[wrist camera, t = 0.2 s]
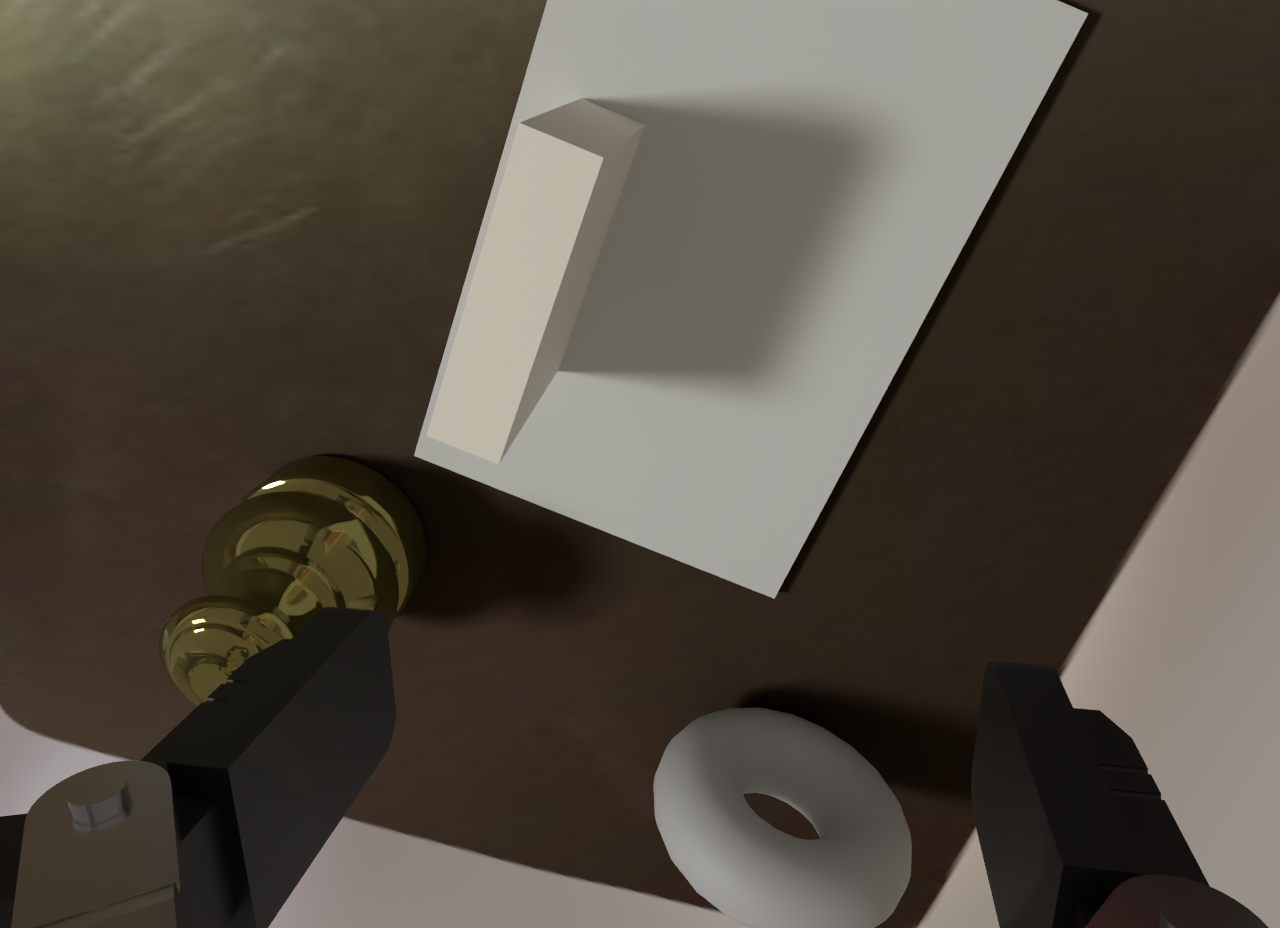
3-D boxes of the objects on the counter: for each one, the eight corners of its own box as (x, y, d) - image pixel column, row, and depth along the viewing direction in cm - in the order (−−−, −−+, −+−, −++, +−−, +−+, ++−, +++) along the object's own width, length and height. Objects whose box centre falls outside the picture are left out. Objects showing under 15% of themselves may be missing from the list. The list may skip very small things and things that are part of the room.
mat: (606, -190, 27) (603, -193, 27) (1083, 13, 28) (1088, 13, 27) (418, 450, 37) (413, 455, 36) (774, 591, 37) (774, 598, 37)
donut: (910, 732, 39) (948, 942, 30) (878, 790, 41) (905, 1007, 32) (681, 659, 39) (652, 848, 30) (657, 719, 41) (623, 916, 32)
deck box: (578, 96, 30) (514, 121, 23) (645, 124, 30) (604, 157, 23) (498, 347, 34) (422, 434, 27) (557, 370, 34) (498, 464, 27)
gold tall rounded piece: (389, 637, 41) (280, 810, 32) (234, 553, 40) (77, 706, 31) (459, 511, 38) (360, 665, 29) (292, 417, 37) (136, 545, 28)
